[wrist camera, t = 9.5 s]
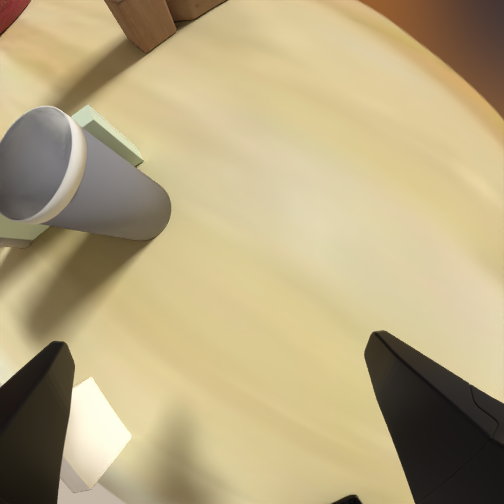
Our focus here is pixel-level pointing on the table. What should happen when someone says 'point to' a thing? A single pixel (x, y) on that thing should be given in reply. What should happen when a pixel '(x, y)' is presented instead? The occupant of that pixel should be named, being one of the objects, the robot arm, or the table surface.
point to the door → (22, 234)
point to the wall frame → (90, 437)
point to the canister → (10, 11)
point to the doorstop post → (75, 180)
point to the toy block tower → (155, 18)
